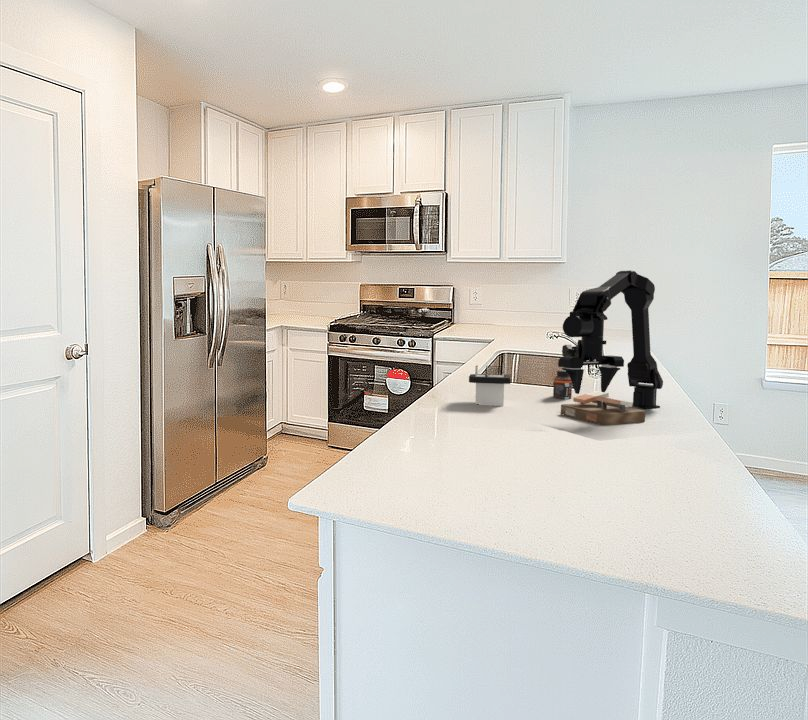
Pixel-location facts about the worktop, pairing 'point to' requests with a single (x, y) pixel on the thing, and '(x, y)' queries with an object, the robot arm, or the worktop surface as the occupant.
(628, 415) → the switch unit
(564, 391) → the supplement bottle
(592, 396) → the rocker
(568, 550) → the worktop surface
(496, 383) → the white and black block
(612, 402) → the block
